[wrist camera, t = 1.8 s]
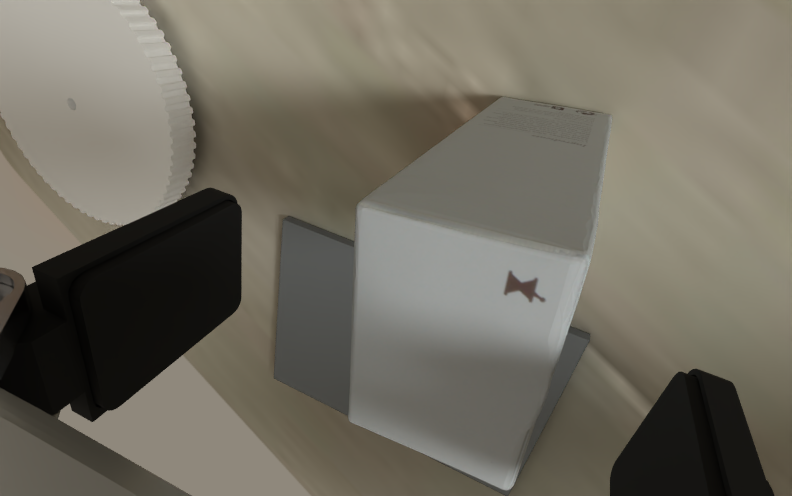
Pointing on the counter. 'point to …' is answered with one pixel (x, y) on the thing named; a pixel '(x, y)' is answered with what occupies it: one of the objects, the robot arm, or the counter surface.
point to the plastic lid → (96, 104)
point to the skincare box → (475, 283)
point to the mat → (350, 325)
